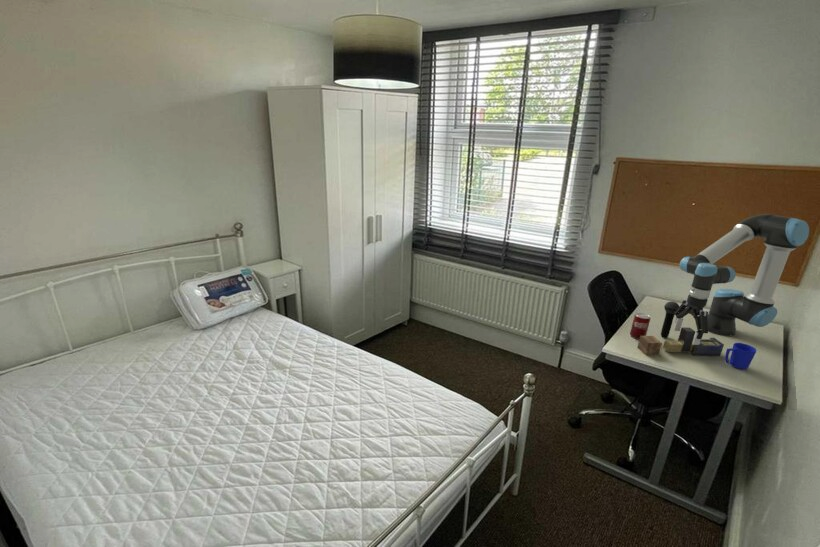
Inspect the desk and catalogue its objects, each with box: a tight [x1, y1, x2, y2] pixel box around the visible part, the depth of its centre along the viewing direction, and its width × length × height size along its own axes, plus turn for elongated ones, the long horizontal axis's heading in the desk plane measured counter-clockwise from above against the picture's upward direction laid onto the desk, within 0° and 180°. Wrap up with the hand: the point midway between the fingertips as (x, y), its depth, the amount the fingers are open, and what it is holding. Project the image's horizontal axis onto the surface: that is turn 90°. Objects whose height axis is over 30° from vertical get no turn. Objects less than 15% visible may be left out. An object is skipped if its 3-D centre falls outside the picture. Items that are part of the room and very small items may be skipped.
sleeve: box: [688, 337, 725, 357], centre depth 193 cm, size 13×7×6 cm, turn 91°
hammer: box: [662, 326, 717, 353], centre depth 191 cm, size 24×4×11 cm, turn 91°
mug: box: [724, 342, 757, 370], centre depth 181 cm, size 8×12×10 cm
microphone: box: [660, 301, 680, 339], centre depth 204 cm, size 7×7×20 cm
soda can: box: [629, 312, 651, 340], centre depth 205 cm, size 7×7×12 cm
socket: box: [637, 335, 663, 356], centre depth 192 cm, size 6×7×7 cm
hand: (685, 337), depth 191 cm, fingers open, 13 cm apart
